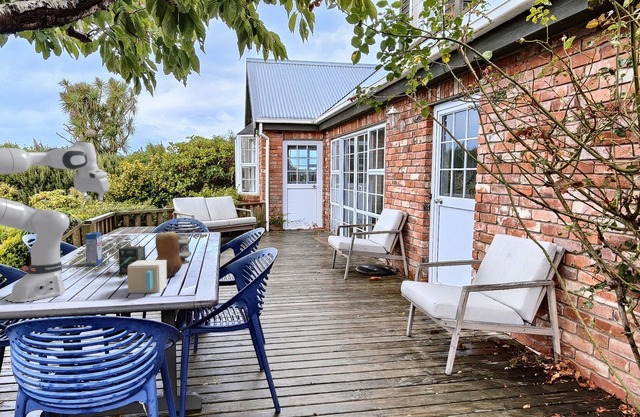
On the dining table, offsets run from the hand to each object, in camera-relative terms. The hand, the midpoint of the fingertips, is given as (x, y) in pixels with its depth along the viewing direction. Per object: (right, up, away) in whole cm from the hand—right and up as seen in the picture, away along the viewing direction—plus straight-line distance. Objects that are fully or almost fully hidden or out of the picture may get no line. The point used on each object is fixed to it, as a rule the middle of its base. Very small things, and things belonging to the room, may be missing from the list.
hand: (93, 199), depth 199 cm
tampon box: (+8, -42, +25) cm, 49 cm away
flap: (+34, -43, -20) cm, 59 cm away
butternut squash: (+33, -42, +15) cm, 56 cm away
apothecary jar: (+27, -40, +52) cm, 71 cm away
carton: (+33, -44, -11) cm, 56 cm away
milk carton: (-26, -40, +46) cm, 66 cm away
